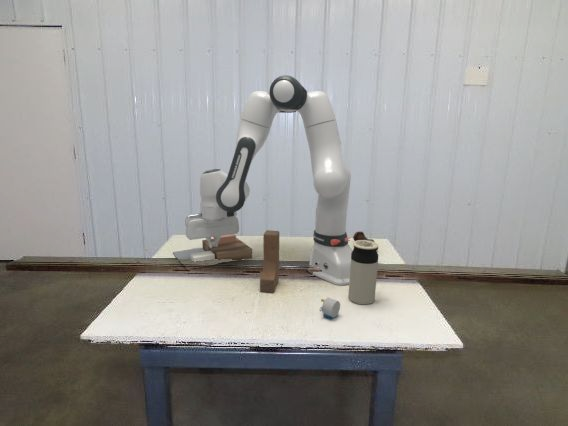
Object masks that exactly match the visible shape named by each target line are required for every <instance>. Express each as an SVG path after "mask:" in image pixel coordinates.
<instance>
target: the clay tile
mask: <svg viewBox="0 0 568 426" xmlns="http://www.w3.org/2000/svg"><path fill="white" fill-rule="evenodd" d="M236 238H237V234H230V235H223V236H220V240H219V242H218V244H220V243H227V242H234V241H236ZM212 239H213V240H214V241H215V240H216V237H212Z"/></svg>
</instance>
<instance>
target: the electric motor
mask: <svg viewBox="0 0 568 426" xmlns="http://www.w3.org/2000/svg"><path fill="white" fill-rule="evenodd" d="M321 302H322V306H321V307H320V308H319V312H321V313H322V314H323V317H327V318H329V319H331V320H332V319H334V318H335V317H337V316H338V314H339V312H340V309H341V302H340V301H339V300H336V299H333V298H330V297H327V298H321Z"/></svg>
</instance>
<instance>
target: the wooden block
mask: <svg viewBox="0 0 568 426" xmlns="http://www.w3.org/2000/svg"><path fill="white" fill-rule="evenodd" d="M262 240H263V243H262V244H263V246H262V247H263V250H262V253H263V255H262V256H263V261H262V262H263V263H262V273H261V276H260V279H259V291H260V292H262V293H274V292H275V290H276V287H277V285H278V283H279V281H280V278H279V277H280V275H279V274H280V231H279V230H271V229H270V230H266V231H264V233H263V239H262Z"/></svg>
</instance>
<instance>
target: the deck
mask: <svg viewBox="0 0 568 426" xmlns="http://www.w3.org/2000/svg"><path fill="white" fill-rule="evenodd" d="M210 241H211V242H215V241H214V240H213V238H211V240H210ZM201 245H202V249H204V250H205V251H211V252H212V253H213V254H214V255H215V259H218V260H221V259H232V260H239V261H243V260H242V259H245V260H250V259H253V248H252V247H250V246H249V245H247V244H246V243H245V242H243V241H242V240H241V239H240V238H237V237H236V241H234V242H227V243H220V244H218V247H214V248H210V247H209V242H208V241H207V239H203V240H202V244H201Z"/></svg>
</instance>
